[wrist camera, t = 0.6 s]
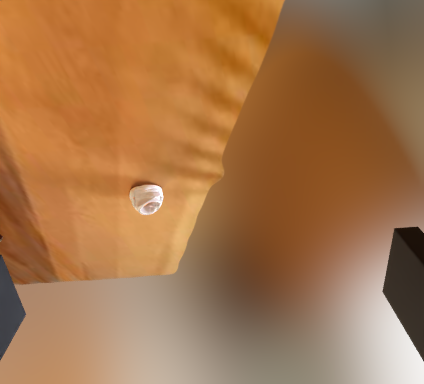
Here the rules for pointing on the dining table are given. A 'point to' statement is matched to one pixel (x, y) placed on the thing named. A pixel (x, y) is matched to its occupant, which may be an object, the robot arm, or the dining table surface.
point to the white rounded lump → (146, 198)
